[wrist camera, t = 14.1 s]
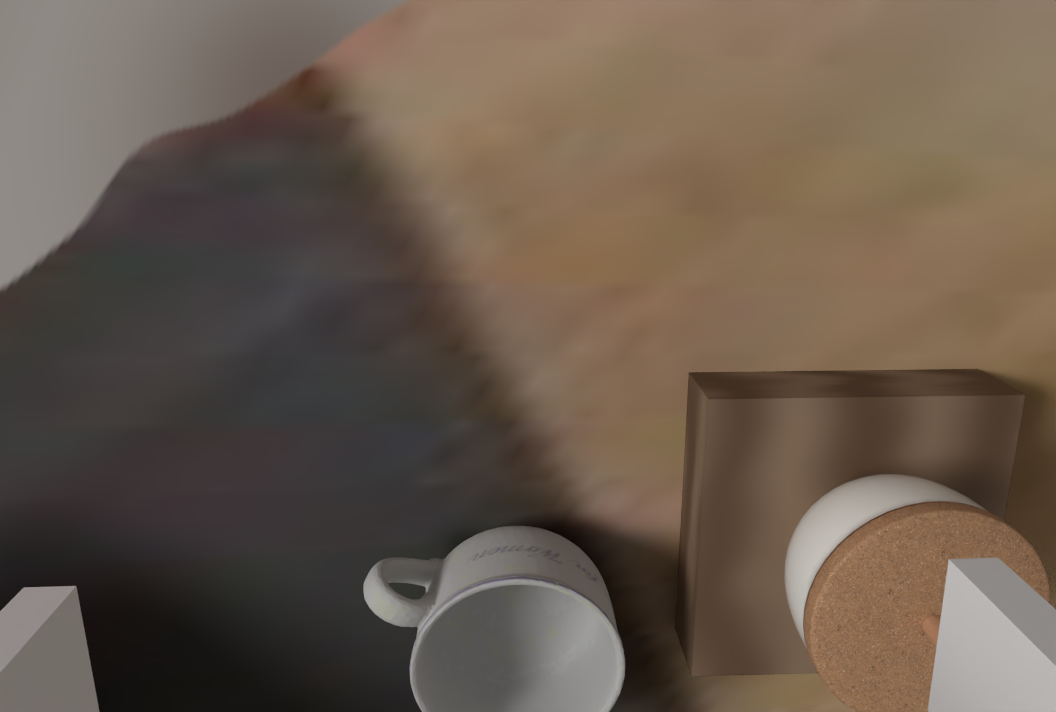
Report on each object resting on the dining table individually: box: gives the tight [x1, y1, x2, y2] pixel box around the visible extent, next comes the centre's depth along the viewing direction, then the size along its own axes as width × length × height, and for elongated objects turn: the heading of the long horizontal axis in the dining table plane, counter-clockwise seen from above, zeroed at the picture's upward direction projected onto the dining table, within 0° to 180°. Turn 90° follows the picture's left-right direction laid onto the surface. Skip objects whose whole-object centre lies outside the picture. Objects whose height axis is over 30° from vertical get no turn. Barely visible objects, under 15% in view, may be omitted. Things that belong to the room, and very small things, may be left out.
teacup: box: [364, 526, 625, 712], centre depth 46 cm, size 14×11×8 cm
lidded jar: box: [784, 474, 1050, 712], centre depth 40 cm, size 11×11×9 cm
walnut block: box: [675, 369, 1025, 676], centre depth 47 cm, size 16×16×5 cm
